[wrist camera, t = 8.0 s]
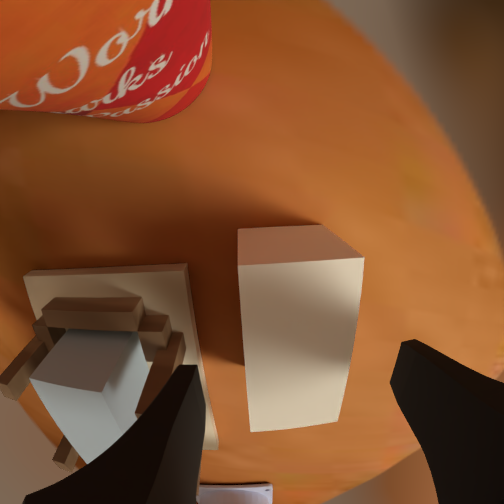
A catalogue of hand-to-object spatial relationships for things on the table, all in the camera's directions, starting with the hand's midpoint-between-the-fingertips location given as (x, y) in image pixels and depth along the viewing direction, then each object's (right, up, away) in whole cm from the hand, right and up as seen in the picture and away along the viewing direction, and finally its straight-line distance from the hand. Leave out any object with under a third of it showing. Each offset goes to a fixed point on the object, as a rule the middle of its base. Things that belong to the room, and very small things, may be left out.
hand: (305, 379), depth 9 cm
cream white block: (0, +2, +6) cm, 6 cm away
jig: (-10, -3, +6) cm, 12 cm away
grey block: (-9, -3, +5) cm, 11 cm away
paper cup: (-6, +13, +2) cm, 14 cm away
